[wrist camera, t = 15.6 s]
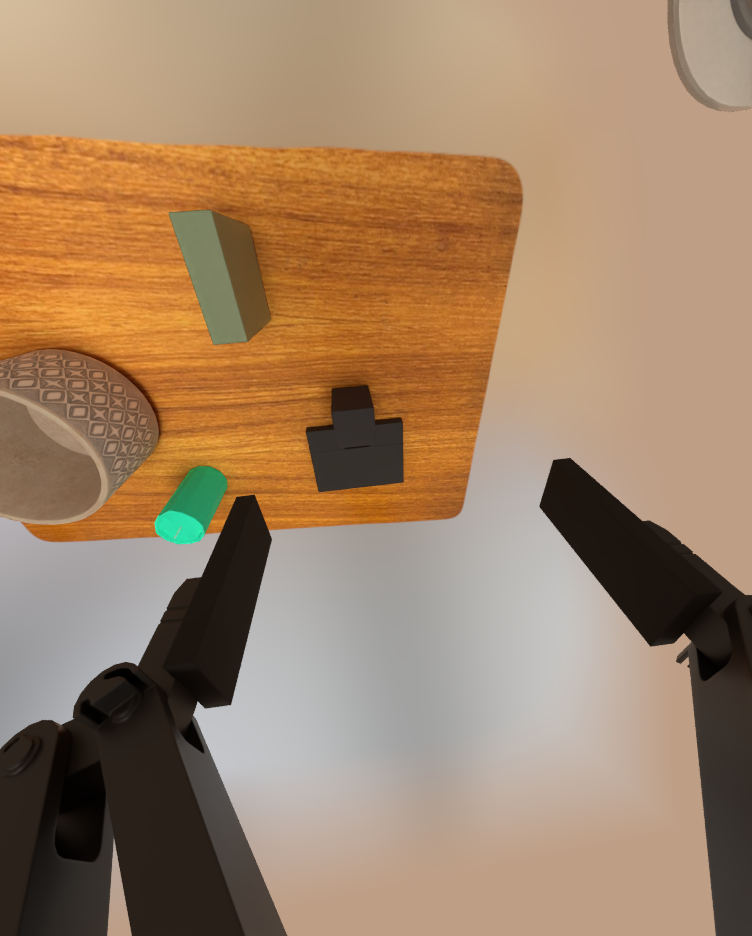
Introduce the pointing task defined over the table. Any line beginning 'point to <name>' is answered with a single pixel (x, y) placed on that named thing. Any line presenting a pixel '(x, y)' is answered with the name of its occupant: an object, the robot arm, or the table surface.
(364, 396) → the black rectangular block
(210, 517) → the candle
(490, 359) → the table surface
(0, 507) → the planter
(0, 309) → the table surface
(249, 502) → the robot arm
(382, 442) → the pad
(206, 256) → the stand
